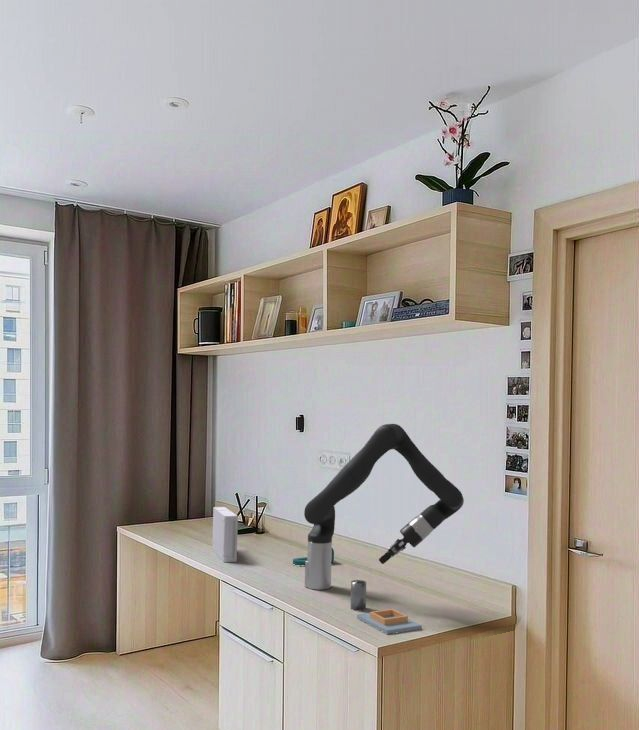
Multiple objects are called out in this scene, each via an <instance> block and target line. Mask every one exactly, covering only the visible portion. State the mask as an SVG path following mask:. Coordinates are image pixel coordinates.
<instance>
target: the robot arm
mask: <svg viewBox="0 0 639 730" xmlns="http://www.w3.org/2000/svg"><path fill="white" fill-rule="evenodd" d="M391 450H394V451H396V452H398V453H399V455H401V456H402V457H403V458H404V459H405V460H406V462H407V463H408V465H409V466H410V468H411V470H412V472H413V473H414V475H415V476H416V477H417V478H418V480H419V481H420V482H421V483H422V484H423V485H424V486H425V487H426V488H427V489H428V490H429V491H431V492H433V493H434V494H435V496H436V497H437V498H438V499H439V500H437V502H435V503H434V504H432V505H429V506H428V507H426V508H425V509H424V510H422V512H420V513H419V514H418V515H416V516H415V517H414V518H412V519H411V520H410V521H409V522H408V523H407V524H406V525H404V526H403V527H402V528H401V529H400V530H399V533H400V534H401V535H402V536H403V537H402V538H401V539H399V538H397V539H396V540H395V541H394V543H393V544H391V546H390V548H389V549H387V551H386V552H384V554H383V555H381V557H379V558H378V561H379V562H380V564H381V565H384V564H385V563H386V562H388V561H389V560H390V559H391V558H393V557H395V555H397V556H398V554H399V553H401V552H403V551H404V550H405V549H406V548H407V547H406V546H407V544H410V546H411V547H412V548H416V547H417V546H418V545H419V544H420V543H422V542H423V541H424V540H425V539H427V537H429V536H430V535H431V533H432V532H433V531H434V530H436V529H437V528H438V527H439V526H440V525H441V524H442V523H444V522H445V520H447V519H448V518H450V517H451V516H452V515H454V514H455V513H457V512H458V511H459V510H460V509H461V508H462V507H463V505H464V501H465V500H464V496H463V493H462V492H461V490H459V488H458V487H457V486H455V484H454V483H452V482H451V481H450V480H448V479H447V478H446V477H445V476H444V474H443V473H442V472H441V471H440V470H439V469H438V468H437V467H436V466H435V465H434V464H433V463H431V461H430V460H429V459H428V458H427V457H426V456H425V455H424V454H423V453H422V452H421V450H420V449H419V448H418V446H416V444H415V443H414V442H413V441H412V439H411V437H410V436H409V434H408V433H407V432H406V431H405V430H404V428H403V427H402V426H401V425H399V424H397V423H386V424H381V426H379V427H378V428H377V429H376V430H375V431H374V432H373V434H372V435H371V436H370V438H369V439H368V440H367V442H366V443H365V444H364V446H363V447H362V448H361V449H360V450H359V451H358V452H357V453H356V454H355V455H354V456H353V457H352V458H351V459H350V460H349V461H348V462H347V463H345V465H344V466H343V467H342V468H341V469H340V470H339V471H338V473H337V474H336V475H335V476H334V477H333V478H332V479H331V481H330V482H329V483H328V484H327V485H326V487H324V488H323V489H322V490H321V491H320V492H319V493H318V494H317V495H316V496H314V497H313V498H312V499H311V500H309V502H307V504H306V505H305V508H304V512H303V513H304V515H303V516H304V518H305V520H306V522H308V523H309V524H311V525H313V526H312V529H311V530H310V532H309V533H308V535H307V557H308V558H307V561H306V562H305V566H304V588H305V587H306V588H308V589H311V590H318V591H319V590H322V591H323V590H327V589H331V588H332V563H331V559H332V548H333V547H332V546H333V544H332V543H333V536H334V534H335V526H336V525H335V524H336V507H335V506H336V504H338V503H339V502H340V501H342V500H343V499H345V498H347V497H348V496H350V495H352V494H353V493H354V492H355V491H356V490H358V489H359V488H360V487H361V486H362V485H363V484H364V482H365V481H366V480H367V479H368V478H369V476H370V475H371V472H372V470H373V468H374V467H375V464H376V463H377V462H378V461H379V459H381V458H382V457H383V456H384V455H385V454H386V453H387V452H389V451H391Z"/></svg>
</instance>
